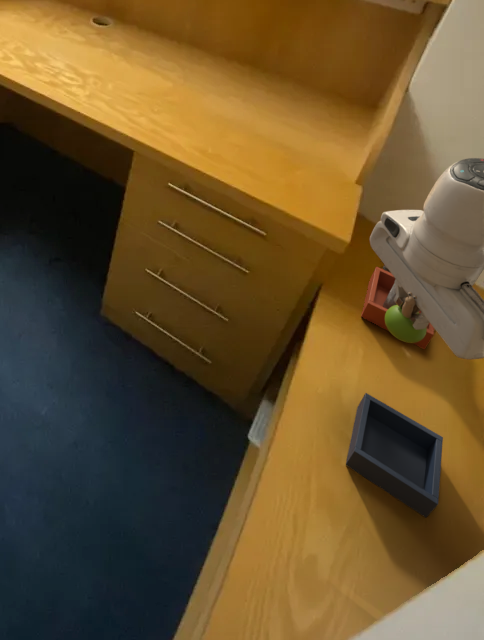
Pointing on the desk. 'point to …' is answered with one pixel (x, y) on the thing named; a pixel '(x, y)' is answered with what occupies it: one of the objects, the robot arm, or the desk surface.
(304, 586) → the desk surface
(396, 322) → the snail figurine
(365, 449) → the slate bin
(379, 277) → the terracotta bin
